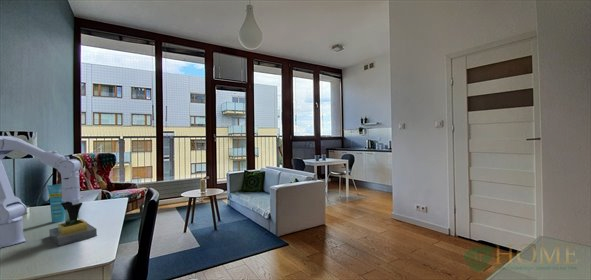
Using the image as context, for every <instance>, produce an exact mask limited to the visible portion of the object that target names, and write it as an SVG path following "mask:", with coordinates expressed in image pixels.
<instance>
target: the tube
mask: <svg viewBox="0 0 591 280" xmlns="http://www.w3.org/2000/svg"><path fill="white" fill-rule="evenodd" d="M46 187H47V191H48V197H49V198H48V199H49V204H50V215H51V223H60V222H65V210H64V208H63V206H62V205H61V203H64V202H66V201H62V183H57V184H49V185H46Z"/></svg>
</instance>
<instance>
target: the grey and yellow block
mask: <svg viewBox="0 0 591 280" xmlns="http://www.w3.org/2000/svg"><path fill="white" fill-rule="evenodd" d="M48 233H49V237H50V239H52V241H54V243H55V244H56V245H57V246H58V247H60V246H64V245H68V244H73V243H75V242H79V241H83V240H86V239H91V238H94V237H97V235H98V233H97V228H96V227H95V226H93V225H91V224H90V223H88V221H85V220H84V219H82V218H81V219H80V218H79V222H78V223H76V224H71V225H65V222H63V223H57V227H54V228H49V231H48Z"/></svg>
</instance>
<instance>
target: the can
mask: <svg viewBox="0 0 591 280" xmlns="http://www.w3.org/2000/svg"><path fill="white" fill-rule="evenodd" d="M79 220H80V212H79V213H78V218H77V220H72V221H70V218H69V214H68V211H67V209H66V210H65V220H64V223H65V225H71V224H76V223H78V222H79Z"/></svg>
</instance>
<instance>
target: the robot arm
mask: <svg viewBox="0 0 591 280" xmlns="http://www.w3.org/2000/svg"><path fill="white" fill-rule="evenodd" d="M14 151H19V152H22V153H24V154H28V155H29V156H30V155H31V156H32V157H34V158H37V159H39V161H40V163H42V164H44V165H47V166H49V167H52V168H53V169H56V170H57V172H58V173H59V174H60V178H61V184H62V201H65V202H64V203H61V205H62V206H63V208H64V210H66V209H67V211H68V214H69V218H70V221H72V220H77V218H78V213H79V214H80V209H81V207H82V205H83V202H80V199H83V198H84V197H85V196H84V195H81V189H80V170H81V168H82V163H81V161H80V160H78V159H77V158H70V156H64V155H63V154H60V153H59V152H58V151H57V150H47V151H46V150H43V149H42V148H39V147H38V146H36V145H34V144H32V143H29V142H27V141H25V140H23V139H22V138H19V137H16V136H14V135H0V248H5V247H10V246H13V245H17V244H22V243H25V242H27V240H26V238H25V236H24V228H23V227H24V225H23V221H24V220H23V218H24V216H25V215H26V214H27V211H28V208H27V206H26V204H24V203H23V202H22V200H21V198H20V197H18V196H16V195H15V193H14V192H13V188H12V186H11V183H10V180H9V177H8V175H7V172H6V169H5V166H4V164H3V159H5V157H6V156H7V155H9V154H10V153H12V152H14Z"/></svg>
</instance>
